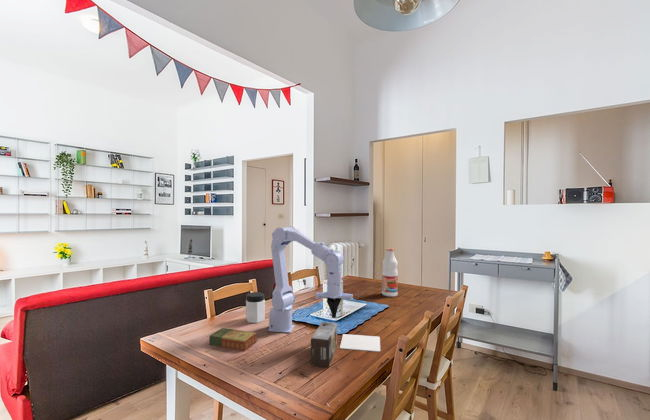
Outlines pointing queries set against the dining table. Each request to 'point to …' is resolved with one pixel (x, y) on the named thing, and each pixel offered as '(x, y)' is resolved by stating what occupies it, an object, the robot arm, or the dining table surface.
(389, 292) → the fruit juice
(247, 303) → the jar
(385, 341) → the dining table surface
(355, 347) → the mat
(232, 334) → the carton
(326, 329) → the coffee box
